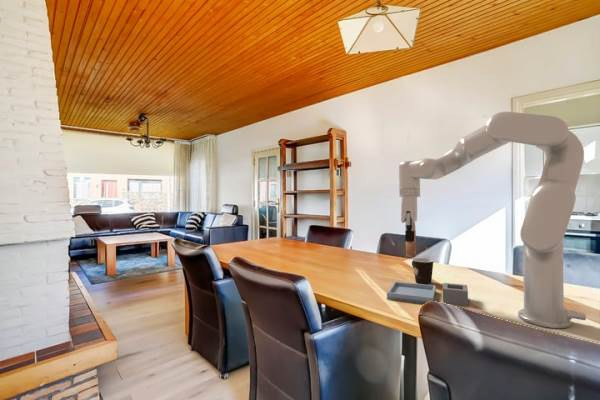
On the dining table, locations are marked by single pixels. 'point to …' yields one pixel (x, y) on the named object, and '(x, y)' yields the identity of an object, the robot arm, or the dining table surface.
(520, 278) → the dining table surface
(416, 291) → the tray
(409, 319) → the dining table surface
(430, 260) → the coffee mug
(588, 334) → the dining table surface
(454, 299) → the socket block
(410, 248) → the dowel
